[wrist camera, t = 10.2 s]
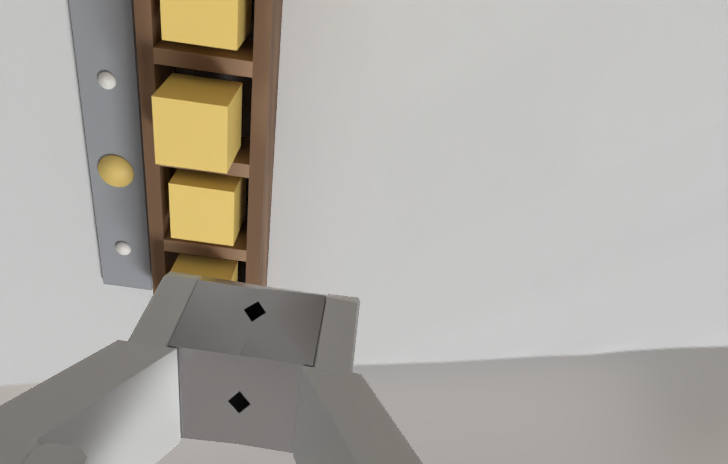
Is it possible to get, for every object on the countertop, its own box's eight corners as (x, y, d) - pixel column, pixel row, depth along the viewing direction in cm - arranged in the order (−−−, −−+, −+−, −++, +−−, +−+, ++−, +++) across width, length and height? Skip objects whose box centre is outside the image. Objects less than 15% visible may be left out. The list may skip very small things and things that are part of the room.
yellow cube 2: (242, 82, 40) (227, 106, 37) (240, 145, 42) (226, 173, 39) (172, 72, 40) (151, 96, 36) (175, 136, 42) (155, 163, 39)
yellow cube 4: (237, 261, 48) (225, 294, 44) (236, 305, 50) (224, 340, 47) (179, 253, 47) (162, 286, 44) (181, 298, 50) (165, 332, 47)
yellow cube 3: (246, 165, 46) (234, 192, 42) (245, 216, 48) (233, 246, 45) (185, 156, 46) (168, 183, 42) (187, 208, 48) (170, 237, 45)
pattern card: (126, -96, 37) (123, -96, 37) (153, 287, 53) (150, 291, 53) (58, -107, 37) (54, -106, 37) (105, 280, 53) (102, 284, 53)
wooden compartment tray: (286, -73, 38) (275, -62, 34) (265, 302, 54) (256, 334, 50) (152, -93, 37) (127, -84, 34) (170, 289, 53) (155, 321, 50)
